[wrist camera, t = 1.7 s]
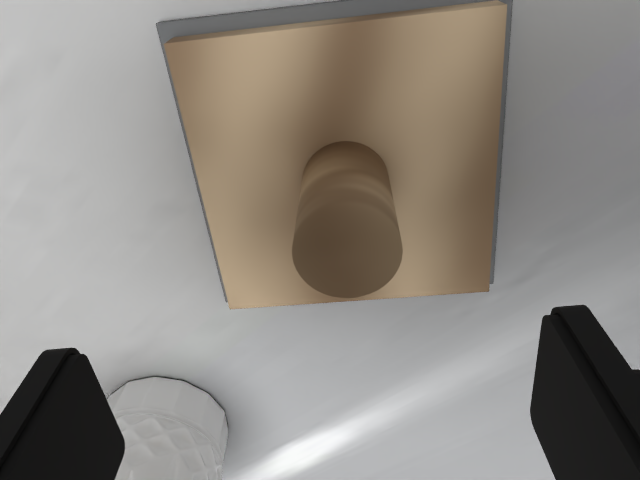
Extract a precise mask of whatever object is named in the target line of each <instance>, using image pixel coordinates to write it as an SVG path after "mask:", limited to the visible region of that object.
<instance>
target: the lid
mask: <svg viewBox="0 0 640 480" xmlns="http://www.w3.org/2000/svg"><path fill="white" fill-rule="evenodd" d="M506 16H507V4H505V3H503V2H500V1H498V0H494V1H486V2H477V3H468V4H459V5H451V6H442V7H433V8H425V9H416V10H407V11H398V12H390V13H381V14H372V15H364V16H355V17H346V18H338V19H329V20H320V21H311V22H303V23H294V24H285V25H277V26H268V27H259V28H250V29H242V30H233V31H224V32H216V33H207V34H198V35H190V36H181V37H173V38H172V39H170V40H169V41H167V42H166V43H164V47H165V51H166V55H167V59H168V63H169V67H170V71H171V75H172V80H173V84H174V88H175V92H176V96H177V100H178V104H179V108H180V112H181V116H182V120H183V124H184V128H185V132H186V136H187V140H188V144H189V148H190V152H191V156H192V160H193V164H194V168H195V172H196V176H197V180H198V184H199V188H200V192H201V196H202V200H203V204H204V208H205V212H206V216H207V220H208V224H209V228H210V232H211V236H212V240H213V244H214V248H215V252H216V256H217V260H218V264H219V268H220V272H221V276H222V280H223V284H224V288H225V292H226V296H227V300H228V304H229V308H230V309H241V308H256V307H271V306H285V305H300V304H314V303H329V302H343V301H358V300H372V299H387V298H401V297H416V296H430V295H445V294H459V293H474V292H488V291H489V282H490V266H491V251H492V235H493V219H494V204H495V188H496V172H497V157H498V141H499V125H500V110H501V94H502V78H503V63H504V47H505V31H506Z"/></svg>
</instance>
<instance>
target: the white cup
mask: <svg viewBox="0 0 640 480" xmlns="http://www.w3.org/2000/svg"><path fill="white" fill-rule="evenodd" d="M107 402H108V404H109V406H110V408H111V411H112V413H113V415H114V417H115V419H116V422H117V424H118V426H119V428H120V430H121V433H122V435H123V437H124V440H125V452H124V456H123V459H122V462H121V464H120V467H119V470H118V472H117V475H116V478H115V480H222V465H223V461H224V455H225V449H226V444H227V438H228V426H227V421H226V416H225V412H224V410H223V409H222V408H221V407H220V406H219V405H218V404H217V402H216V401H215V400H214V399H213V398H212V397H211V396H210V395H209V394H208V393H207V392H205V391H203V390H201V389H199V388H197V387H195V386H193V385H191V384H189V383H187V382H185V381H181V380H174V379H167V378H160V377H150V378H145V379H140V380H135V381H130V382H127V383H126V384H125V385H123V386H122V387H121V388H119V389H118V390H117V391H115V392H114V393H113V394H111V395H110V396H109V398H108V400H107Z"/></svg>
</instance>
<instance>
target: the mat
mask: <svg viewBox="0 0 640 480" xmlns="http://www.w3.org/2000/svg"><path fill="white" fill-rule="evenodd" d="M486 1H494V0H341V1H333V2H324V3H316V4H307V5H299V6H290V7H282V8H273V9H265V10H256V11H248V12H239V13H231V14H222V15H214V16H205V17H197V18H188V19H180V20H171V21H163V22H158V23H156V26H157V30H158V34H159V38H160V42H161V46H162V50H163V54H164V58H165V62H166V66H167V70H168V74H169V78H170V82H171V86H172V90H173V94H174V98H175V102H176V106H177V110H178V114H179V118H180V122H181V126H182V130H183V134H184V137H185V141H186V145H187V149H188V153H189V157H190V161H191V165H192V169H193V173H194V177H195V181H196V185H197V189H198V193H199V197H200V201H201V205H202V209H203V213H204V217H205V221H206V225H207V229H208V233H209V237H210V241H211V245H212V249H213V253H214V257H215V261H216V265H217V269H218V273H219V276H220V280H221V284H222V288H223V292H224V296H225V300H226V302H228V300H227V296H226V292H225V288H224V284H223V280H222V276H221V272H220V268H219V264H218V260H217V256H216V252H215V248H214V244H213V240H212V236H211V232H210V228H209V224H208V220H207V216H206V212H205V208H204V204H203V200H202V196H201V192H200V188H199V184H198V180H197V176H196V172H195V168H194V164H193V160H192V156H191V152H190V148H189V144H188V140H187V136H186V132H185V128H184V124H183V120H182V116H181V112H180V108H179V104H178V100H177V96H176V92H175V88H174V84H173V80H172V75H171V71H170V67H169V63H168V59H167V55H166V51H165V47H164V43H166V42H167V41H169V40H170V39H172V38H173V37H181V36H190V35H198V34H207V33H216V32H224V31H233V30H242V29H250V28H259V27H268V26H277V25H285V24H294V23H303V22H311V21H320V20H329V19H338V18H346V17H355V16H364V15H372V14H381V13H390V12H398V11H407V10H416V9H425V8H433V7H442V6H451V5H459V4H468V3H477V2H486ZM498 1H500V2H503V3H505V4H507V16H506V31H505V47H504V63H503V78H502V94H501V110H500V125H499V141H498V157H497V172H496V188H495V204H494V219H493V235H492V251H491V266H490V282H489V284H493V280H494V265H495V251H496V236H497V221H498V207H499V192H500V178H501V163H502V148H503V134H504V119H505V104H506V90H507V75H508V60H509V46H510V31H511V16H512V2H513V0H498Z"/></svg>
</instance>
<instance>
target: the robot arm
mask: <svg viewBox="0 0 640 480" xmlns="http://www.w3.org/2000/svg"><path fill="white" fill-rule="evenodd" d="M530 414H531V420H532V424H533V427H534V430H535V432H536V434H537V437H538V439H539V441H540V444H541V446H542V448H543V451H544V453H545V455H546V458H547V460H548V463H549V465H550V467H551V470H552V472H553V474H554V477H555V479H556V480H640V370H632V369H631V368H630V366H629V365H628V363H627V362H626V361H625V359H624V358H623V356H622V355H621V353H620V352H619V351H618V349H617V348H616V346H615V345H614V344H613V342H612V341H611V339H610V338H609V336H608V335H607V334H606V332H605V331H604V329H603V328H602V327H601V325H600V324H599V322H598V321H597V319H596V318H595V317H594V315H593V314H592V312H591V311H590V310H589V308H588V307H587V306H585V305H575V306H563V307H555V308H553V309H552V311H551V315H545V316H544V317H543V319H542V324H541V332H540V339H539V347H538V354H537V362H536V369H535V377H534V384H533V392H532V399H531V407H530ZM124 452H125V440H124V437H123V435H122V433H121V430H120V428H119V426H118V424H117V422H116V419H115V417H114V415H113V413H112V411H111V408H110V406H109V404H108V402H107V399H106V397H105V395H104V393H103V391H102V388H101V386H100V384H99V382H98V380H97V377H96V375H95V373H94V371H93V368H92V366H91V364H90V362H89V360H88V358H87V356H86V355H84V354H80V353H79V351H78V350H77V349H75V348H63V349H51V350H46V351H44V352H42V354H41V355H40V356H39V357H38V359H37V360H36V362H35V363H34V365H33V366H32V368H31V369H30V371H29V372H28V374H27V375H26V377H25V378H24V380H23V381H22V383H21V384H20V386H19V387H18V389H17V390H16V392H15V393H14V395H13V396H12V398H11V399H10V401H9V402H8V404H7V405H6V407H5V408H4V410H3V412H2V413H1V415H0V480H115V478H116V475H117V472H118V470H119V467H120V464H121V462H122V459H123V456H124Z"/></svg>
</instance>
